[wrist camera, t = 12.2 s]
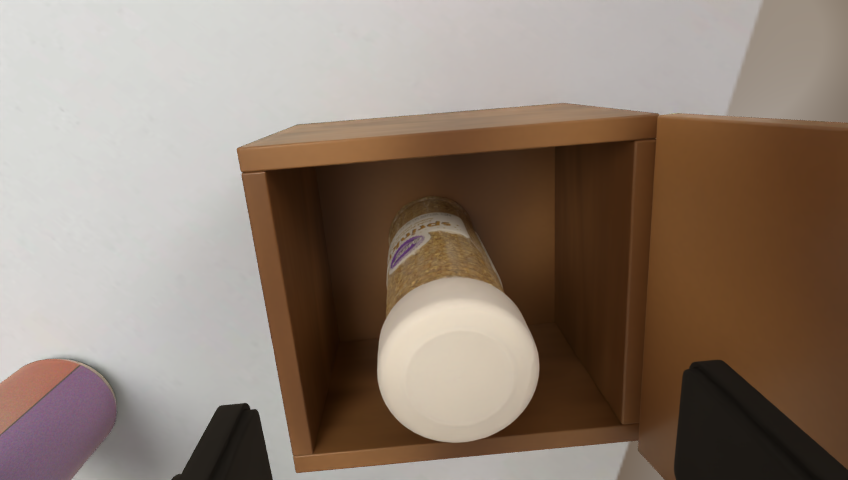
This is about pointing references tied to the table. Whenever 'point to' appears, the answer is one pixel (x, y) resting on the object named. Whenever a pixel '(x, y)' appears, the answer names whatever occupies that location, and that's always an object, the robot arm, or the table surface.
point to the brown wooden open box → (504, 242)
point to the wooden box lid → (748, 271)
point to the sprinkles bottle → (450, 330)
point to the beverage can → (52, 419)
